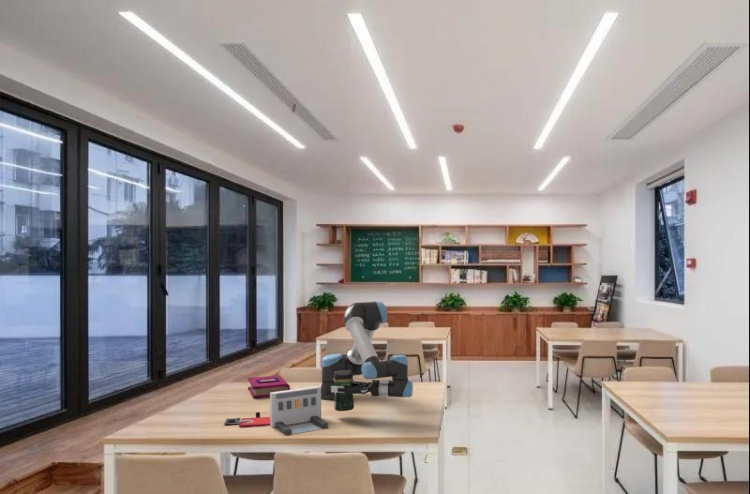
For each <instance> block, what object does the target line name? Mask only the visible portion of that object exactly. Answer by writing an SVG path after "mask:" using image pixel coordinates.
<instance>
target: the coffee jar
mask: <svg viewBox="0 0 750 494" xmlns="http://www.w3.org/2000/svg"><path fill="white" fill-rule="evenodd" d="M333 380H334V383H335V386H346V387H352V382H353V381H354V376H353V374H352V371H351V370H340V371H335V372H334V378H333ZM333 409H334V411H337V412H348V411H352V410H354V409H355V401H354V394H345V393H339V392H335V398H334V400H333Z"/></svg>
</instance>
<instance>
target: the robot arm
mask: <svg viewBox="0 0 750 494" xmlns="http://www.w3.org/2000/svg"><path fill="white" fill-rule="evenodd" d="M387 320H388V313H387V308H386V305H385V304H384V302H382V301H364V302H363V301H361V302H353V303H351V304H349V306H348V307H347V308H346V309H345V310H344V314H343V325H344V327H345V329H346V330H347V331H348V332H349V333H350V336H351V338H352V341H353V345H352V348H351V349H350V350H349V351H348V352H347V354H346V355H343V354H342V353H331V354H327V355H325V356H323V357H322V359H321V365H320V366H321V385H320V387H321V400H327V401H329V400H330V401H331V400H333V401H334V398H335V392H339V393H345V394H353V395H358V394H359V395H366V394H368V393H370V395H371V397H383V398H384V397H385V399H387V398H388V397H389V398H411V397H413V394H414V384H413V381H412V380H409V378H408V376H409V373H408V372H409V362H408V361H409V360H408V356H407V355H404V354H393V355H391V359H389V360H380V359H379V356H378V353H377V351H376V350H375V348H374V346H373V343H372V340H373V337H374V334H375V331H376V330H378V329H379V328H380V326H381V324H382V325H383V324H385V323H386V322H387ZM340 370H351V371H352V374H353V377H355V376H361V375H362V377H363V378H364V379H365V380H371V381H368V382H367V381H355V380H353V382H352V387H346V386H335V383H334V380H333V378H334V372H335V371H340ZM385 378H391V380H389V379H386V380H385Z"/></svg>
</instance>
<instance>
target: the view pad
mask: <svg viewBox="0 0 750 494" xmlns="http://www.w3.org/2000/svg"><path fill="white" fill-rule="evenodd" d="M288 427H289V428H291V429H292V433H293V435H295V434H296V435H297V434H300V433H307V432H312V431H318V430H320V427H319V426H317V425H316V424H314V423H313V422H308V423H307V422H305V423H303V424H297V425H288Z"/></svg>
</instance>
